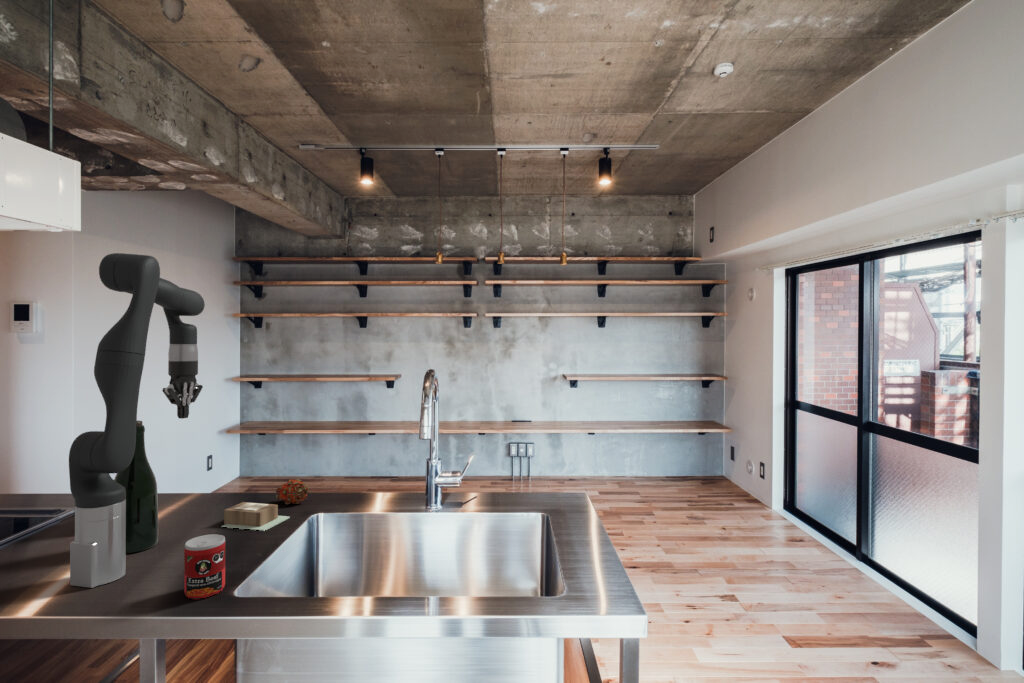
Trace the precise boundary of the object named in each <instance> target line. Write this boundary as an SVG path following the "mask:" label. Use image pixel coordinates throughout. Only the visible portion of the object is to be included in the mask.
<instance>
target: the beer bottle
mask: <svg viewBox="0 0 1024 683" xmlns="http://www.w3.org/2000/svg"><path fill="white" fill-rule="evenodd" d="M145 431H146V428H145V425H143V421H142V420H137V422H136V446H135V452H134V456H133V459H132V461H131V463H130V465H129V466H128V467H127V468H126V469H125V470H124V471H122V472H120V473H115V474H116V475H115V477H114V479H113V480H114V481H115V482H117V483H119V484H121V485H122V486H124V487H125V490H126V555H127V554H134V553H138V552H142V551H146V550H149V549H151V548H153V547H154V546H156V545H157V543H158V542H159V507H158V506H159V504H158V502H159V501H158V485H157V484H158V483H157V480H156V479H157V478H156V476H155V474H154V471H153V468H152V467H151V465H150V463H149V460H148V457H147V453H146V452H147V451H146V446H145V445H146V444H145Z"/></svg>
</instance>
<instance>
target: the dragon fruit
mask: <svg viewBox="0 0 1024 683" xmlns="http://www.w3.org/2000/svg"><path fill="white" fill-rule="evenodd" d="M275 492H276V493H277V494H276V495H275V498H276V500H280V501H283V500H284V504H285V505H291V503H292V504H294V505H298V504H300V503H302V502H301V501H306V500H308V495H309V494H310V493H311V492H310V491H309V488H308V486H307V484H305V483H304V482H303V481H302V480H300V479H299V478H298V479H297V478H296V479H288V481H287V483H283V484H281V486H279V487H277V489H276V490H275ZM279 493H280V494H279ZM286 493H296V494H286ZM298 493H309V494H298Z"/></svg>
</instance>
